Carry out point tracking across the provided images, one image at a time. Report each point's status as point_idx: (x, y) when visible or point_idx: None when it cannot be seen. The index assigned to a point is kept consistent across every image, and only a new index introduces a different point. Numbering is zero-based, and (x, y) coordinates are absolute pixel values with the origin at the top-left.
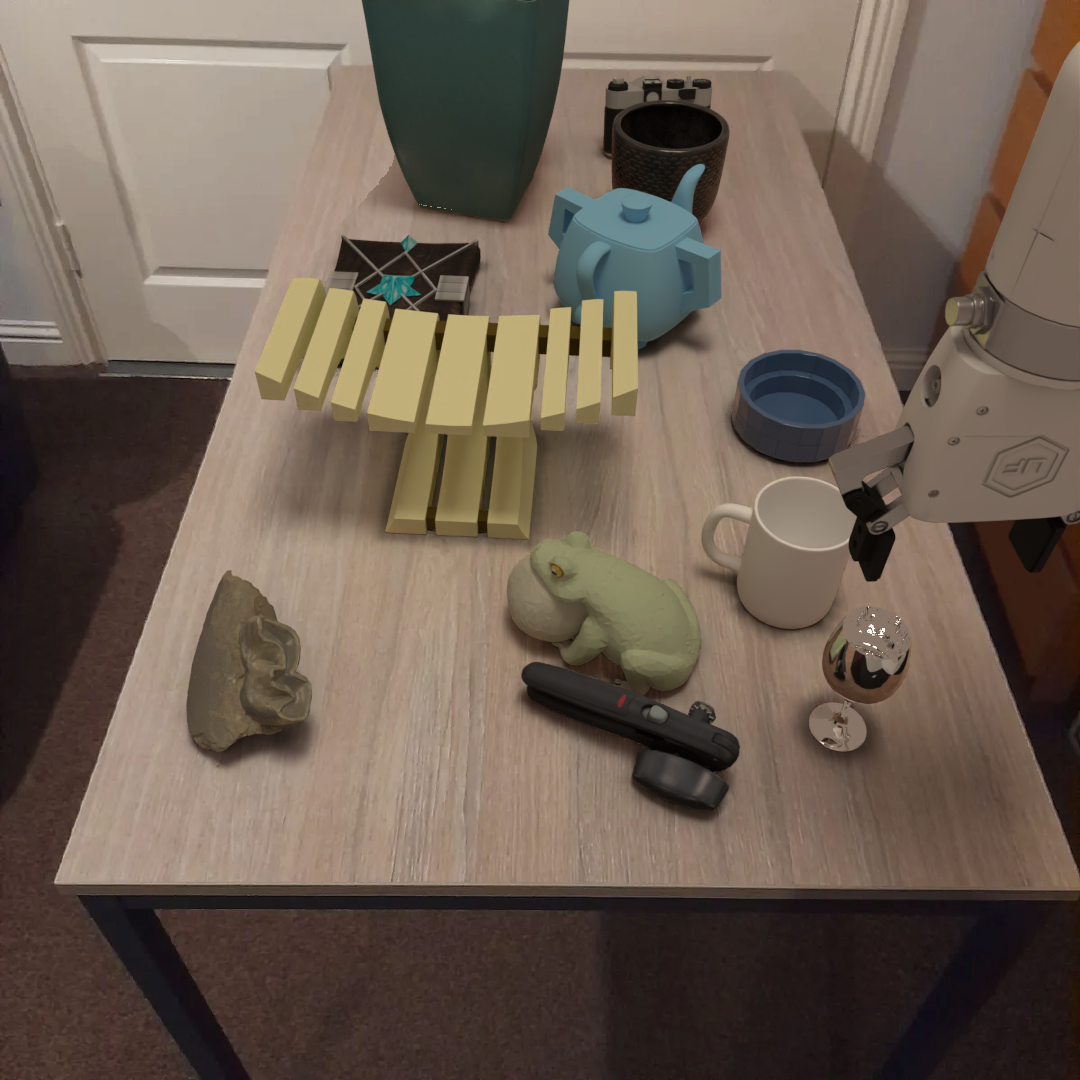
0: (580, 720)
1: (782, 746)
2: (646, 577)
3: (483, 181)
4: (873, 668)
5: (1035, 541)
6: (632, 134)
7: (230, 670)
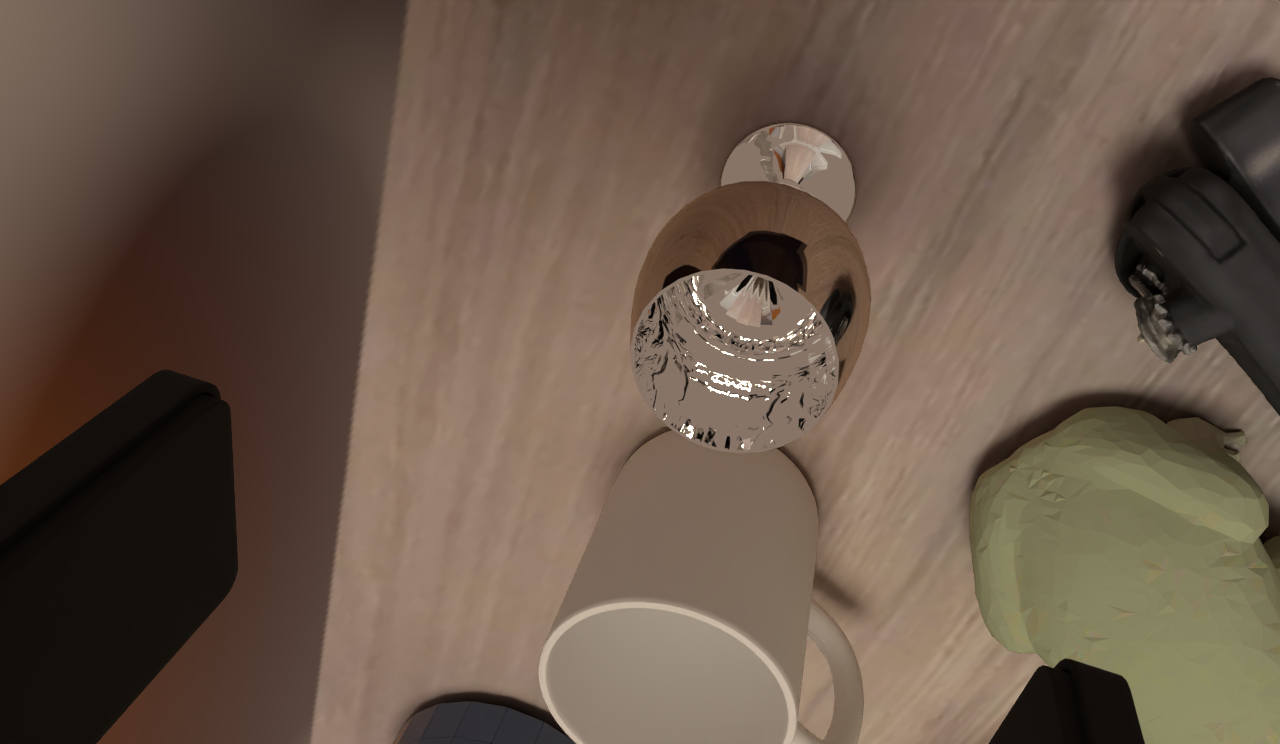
0: None
1: (941, 188)
2: None
3: None
4: (801, 264)
5: (102, 553)
6: None
7: None
